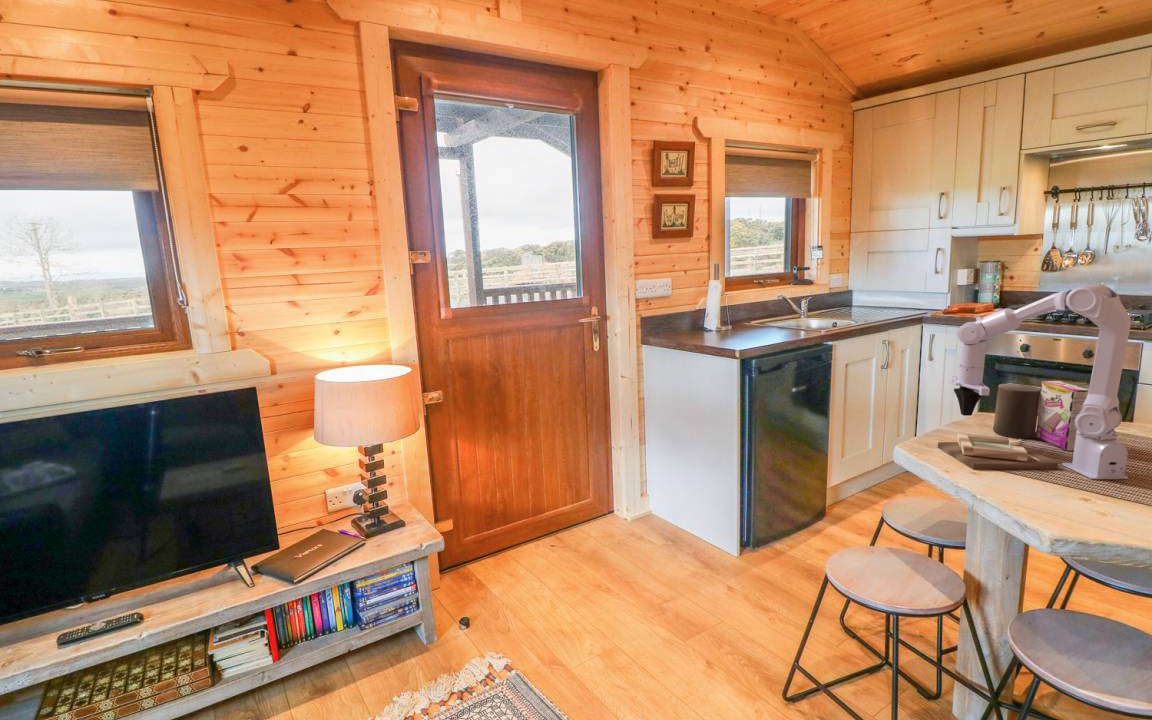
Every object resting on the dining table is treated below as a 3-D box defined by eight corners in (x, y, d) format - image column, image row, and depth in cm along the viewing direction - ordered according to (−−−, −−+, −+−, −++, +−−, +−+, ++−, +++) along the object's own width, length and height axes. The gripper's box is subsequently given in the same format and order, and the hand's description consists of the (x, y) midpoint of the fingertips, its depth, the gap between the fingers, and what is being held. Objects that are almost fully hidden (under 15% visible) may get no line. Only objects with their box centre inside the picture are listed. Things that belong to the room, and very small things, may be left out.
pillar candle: (1016, 440, 162) (1023, 387, 159) (984, 430, 171) (990, 380, 168) (1044, 437, 164) (1051, 385, 161) (1011, 427, 173) (1017, 378, 170)
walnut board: (1057, 468, 141) (1058, 462, 140) (972, 469, 142) (973, 463, 142) (1013, 447, 156) (1014, 441, 156) (937, 447, 158) (938, 441, 158)
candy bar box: (1033, 438, 163) (1040, 380, 160) (1052, 437, 163) (1059, 380, 160) (1065, 451, 152) (1073, 390, 149) (1085, 451, 152) (1093, 389, 149)
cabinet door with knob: (1027, 461, 141) (1028, 451, 141) (963, 454, 147) (964, 445, 147) (1016, 445, 152) (1017, 436, 152) (956, 440, 158) (957, 431, 157)
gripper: (940, 361, 165) (936, 407, 167) (971, 371, 150) (966, 422, 153) (967, 360, 164) (962, 407, 167) (1000, 371, 150) (994, 422, 152)
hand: (966, 414), depth 160 cm, fingers closed
